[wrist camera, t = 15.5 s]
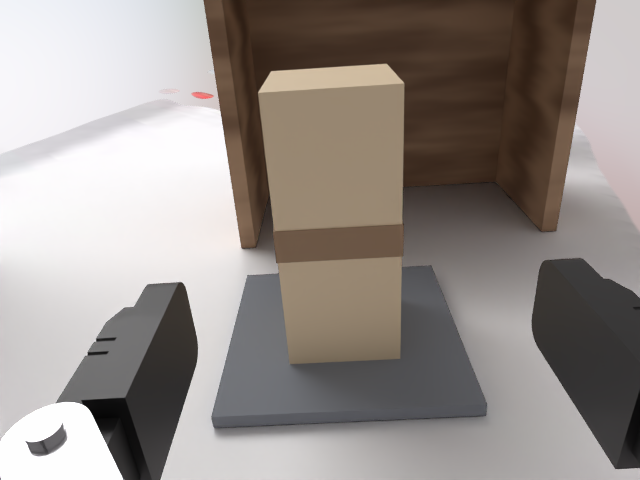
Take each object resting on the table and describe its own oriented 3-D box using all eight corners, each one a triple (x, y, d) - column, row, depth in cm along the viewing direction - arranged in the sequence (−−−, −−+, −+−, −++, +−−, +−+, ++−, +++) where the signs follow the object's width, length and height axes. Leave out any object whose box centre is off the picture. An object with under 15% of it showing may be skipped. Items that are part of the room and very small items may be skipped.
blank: (401, 359, 22) (406, 83, 17) (288, 365, 22) (256, 93, 17) (387, 296, 27) (387, 63, 21) (293, 301, 27) (270, 70, 21)
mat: (485, 415, 20) (487, 404, 19) (213, 427, 20) (211, 416, 20) (430, 274, 29) (431, 265, 29) (248, 283, 30) (247, 275, 30)
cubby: (556, 230, 33) (607, -65, 26) (241, 248, 34) (198, -36, 26) (503, 177, 43) (529, -50, 35) (258, 191, 44) (230, -29, 36)
